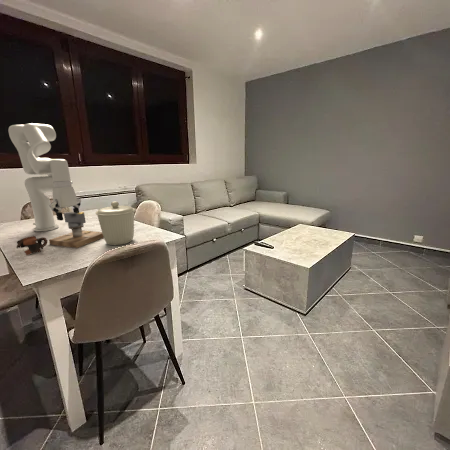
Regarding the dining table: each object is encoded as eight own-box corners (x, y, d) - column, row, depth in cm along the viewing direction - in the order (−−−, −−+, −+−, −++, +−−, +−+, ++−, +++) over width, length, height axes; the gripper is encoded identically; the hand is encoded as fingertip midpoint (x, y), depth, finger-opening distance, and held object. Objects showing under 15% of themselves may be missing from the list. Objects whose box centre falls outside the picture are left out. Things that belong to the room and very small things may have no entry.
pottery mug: (18, 258, 109) (10, 241, 110) (26, 260, 118) (19, 244, 118) (48, 246, 114) (41, 230, 115) (54, 249, 123) (47, 234, 123)
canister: (102, 239, 132) (96, 200, 127) (137, 235, 139) (133, 197, 133) (98, 250, 116) (91, 206, 110) (139, 245, 122) (134, 203, 117)
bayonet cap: (62, 228, 127) (59, 212, 125) (73, 224, 133) (71, 210, 131) (78, 229, 124) (76, 214, 122) (89, 226, 130) (87, 211, 128)
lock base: (49, 244, 125) (46, 231, 123) (79, 234, 141) (77, 222, 140) (77, 248, 120) (74, 234, 118) (105, 236, 136) (103, 224, 134)
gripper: (72, 182, 133) (77, 214, 137) (40, 186, 117) (47, 221, 122) (82, 183, 131) (88, 214, 135) (51, 186, 115) (59, 222, 119)
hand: (69, 217), depth 128 cm, fingers open, 9 cm apart
